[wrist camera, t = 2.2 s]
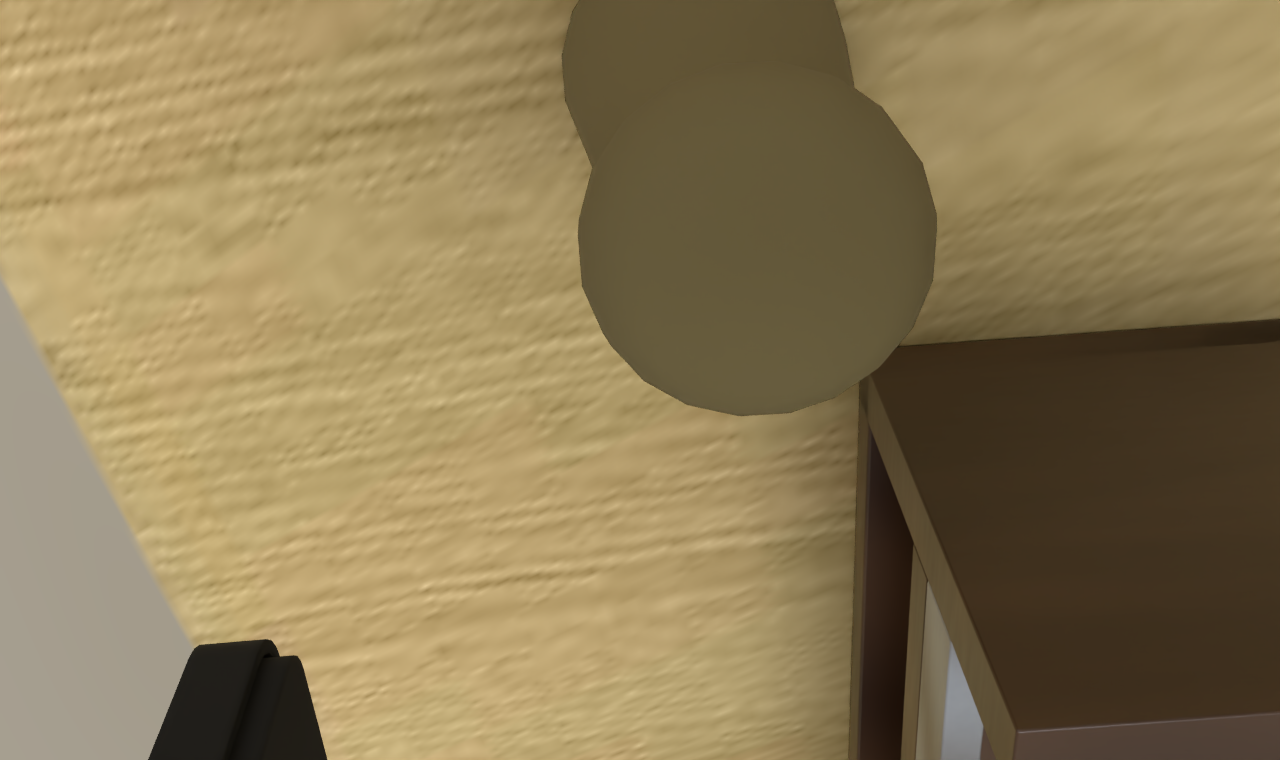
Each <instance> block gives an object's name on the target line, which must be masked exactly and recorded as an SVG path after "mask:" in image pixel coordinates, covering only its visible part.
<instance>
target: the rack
mask: <svg viewBox="0 0 1280 760" xmlns="http://www.w3.org/2000/svg"><path fill="white" fill-rule="evenodd" d="M859 399H860V400H859V433H858V467H857V500H856V533H855V567H854V600H853V634H852V667H851V700H850V734H849V760H1280V319H1279V320H1265V321H1252V322H1238V323H1224V324H1210V325H1196V326H1182V327H1169V328H1155V329H1141V330H1127V331H1113V332H1099V333H1086V334H1072V335H1058V336H1044V337H1030V338H1016V339H1003V340H989V341H975V342H961V343H947V344H933V345H920V346H906V347H896V348H895V349H894V351H893V352H892V353H891V354H890V355H889V357H888V358H887V359H886V360H885V361H884V362H883V364H882V365H881V366H880V367H879V368H878V369H876V370H875V371H874V372H872V373H871V374H869V375H868V376H866V377H865V378H863V379H862V380H860V389H859Z"/></svg>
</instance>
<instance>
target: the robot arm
mask: <svg viewBox="0 0 1280 760" xmlns="http://www.w3.org/2000/svg"><path fill="white" fill-rule="evenodd" d="M148 760H327V757H326V753H325V749H324V745H323V741H322V737H321V734H320V730H319V726H318V722H317V718H316V715H315V711H314V707H313V703H312V699H311V695H310V692H309V688H308V684H307V680H306V676H305V673H304V669H303V666H302V663H301V661H300V659H299V658H298V656H294V655H293V656H281V657H280V656H279V653H278V650H277V648H276V646H275V645H274V643H273V642H272V641H271V640H267V639H264V640H253V641H241V642H229V643H217V644H205V645H199V646H198V647H196V648H195V649H194V650H193V652H192V654H191V655H190V657H189V659H188V662H187V664H186V667H185V669H184V672H183V674H182V677H181V679H180V682H179V684H178V687H177V689H176V692H175V694H174V697H173V699H172V702H171V704H170V707H169V709H168V712H167V714H166V717H165V719H164V722H163V724H162V727H161V729H160V732H159V734H158V737H157V739H156V742H155V744H154V747H153V749H152V752H151V754H150V757H149V759H148Z"/></svg>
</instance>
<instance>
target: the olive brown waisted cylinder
mask: <svg viewBox="0 0 1280 760" xmlns="http://www.w3.org/2000/svg"><path fill="white" fill-rule="evenodd" d="M562 65H563V78H564V90H565V101H566V103H567V106H568V108H569V111H570V113H571V116H572V118H573V121H574V123H575V126H576V128H577V130H578V133H579V135H580V138H581V140H582V143H583V145H584V148H585V150H586V153H587V155H588V158H589V160H590V163H591V165H592V172H591V175H590V179H589V183H588V187H587V191H586V194H585V198H584V202H583V206H582V210H581V213H580V217H579V227H578V241H579V254H580V266H581V279H582V287H583V289H584V292H585V294H586V296H587V298H588V301H589V303H590V305H591V307H592V310H593V312H594V314H595V316H596V319H597V321H598V323H599V325H600V328H601V330H602V332H603V334H604V335H605V337H606V339H607V340H608V342H609V343H610V345H611V346H612V347H613V348H614V349H615V350H616V352H617V353H618V354H619V355H620V356H621V357H622V358H623V359H624V360H625V361H626V362H627V363H628V364H629V365H630V366H631V368H632V369H633V370H634V371H635V372H636V373H637V374H638V375H639V376H640V377H641V378H642V379H643V380H644V381H645V382H647V383H649V384H650V385H652V386H654V387H656V388H658V389H660V390H661V391H663V392H665V393H667V394H669V395H670V396H672V397H674V398H676V399H678V400H679V401H681V402H683V403H685V404H687V405H690V406H695V407H700V408H704V409H709V410H713V411H718V412H723V413H727V414H732V415H736V416H749V415H766V414H782V413H791V412H794V411H797V410H800V409H803V408H806V407H809V406H812V405H815V404H818V403H821V402H824V401H827V400H830V399H833V398H835V397H836V396H838V395H839V394H841V393H842V392H844V391H845V390H847V389H848V388H850V387H851V386H853V385H854V384H856V383H857V382H859V381H860V380H862V379H863V378H865V377H866V376H868V375H869V374H871V373H872V372H874V371H875V370H876V369H878V368H879V367H880V366H881V365H882V364H883V362H884V361H885V360H886V359H887V358H888V357H889V355H890V354H891V353H892V352H893V351H894V349H895V348H896V347H897V346H898V345H899V343H900V342H901V341H902V340H903V339H904V338H905V336H906V335H907V334H908V333H909V332H910V330H911V329H912V328H913V326H914V324H915V322H916V319H917V317H918V315H919V312H920V310H921V307H922V305H923V303H924V300H925V298H926V296H927V293H928V291H929V289H930V286H931V284H932V281H933V273H934V260H935V247H936V233H937V213H936V210H935V206H934V203H933V199H932V195H931V192H930V188H929V184H928V181H927V177H926V174H925V170H924V166H923V163H922V161H921V160H920V159H919V157H918V156H917V155H916V153H915V152H914V150H913V149H912V148H911V146H910V145H909V143H908V142H907V141H906V139H905V138H904V137H903V135H902V134H901V132H900V131H899V130H898V128H897V127H896V125H895V124H894V123H893V121H892V120H891V119H890V117H889V116H888V115H887V113H886V112H885V111H884V109H883V108H882V107H881V106H880V105H878V104H877V103H875V102H874V101H872V100H871V99H869V98H868V97H866V96H865V95H863V94H862V93H861V92H859V91H858V90H856V89H855V88H854V82H853V77H852V72H851V67H850V61H849V56H848V51H847V46H846V40H845V37H844V33H843V30H842V26H841V23H840V20H839V16H838V13H837V9H836V6H835V3H834V0H579V2H578V4H577V5H576V7H575V9H574V10H573V12H572V16H571V20H570V24H569V28H568V32H567V37H566V41H565V45H564V49H563V53H562Z"/></svg>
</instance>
